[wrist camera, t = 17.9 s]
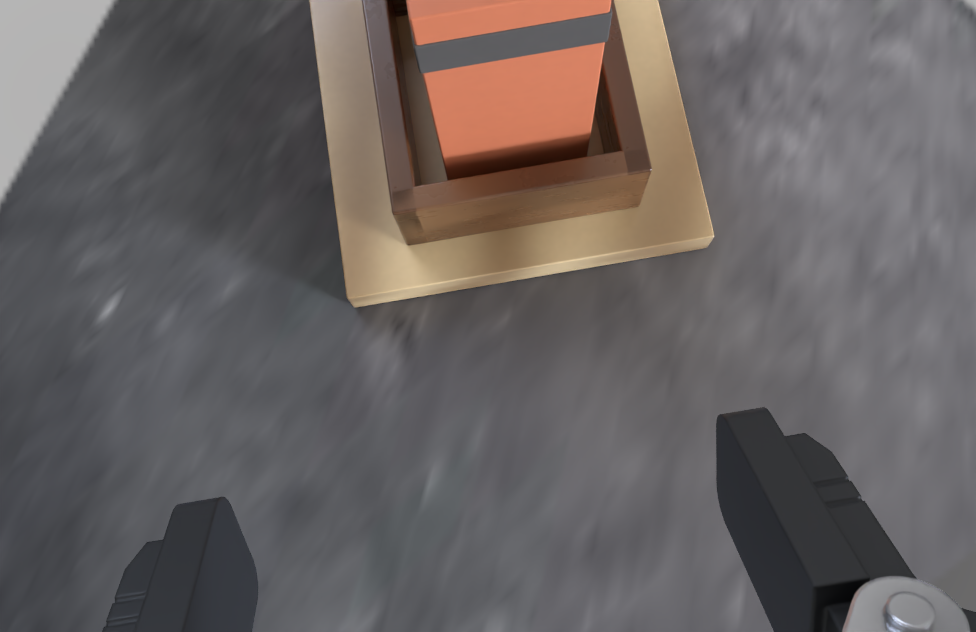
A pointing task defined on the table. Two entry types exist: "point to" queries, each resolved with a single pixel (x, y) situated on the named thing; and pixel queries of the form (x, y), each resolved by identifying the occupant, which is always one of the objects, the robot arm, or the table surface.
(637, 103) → the base pad
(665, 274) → the table surface
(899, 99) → the table surface
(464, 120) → the orange striped block
